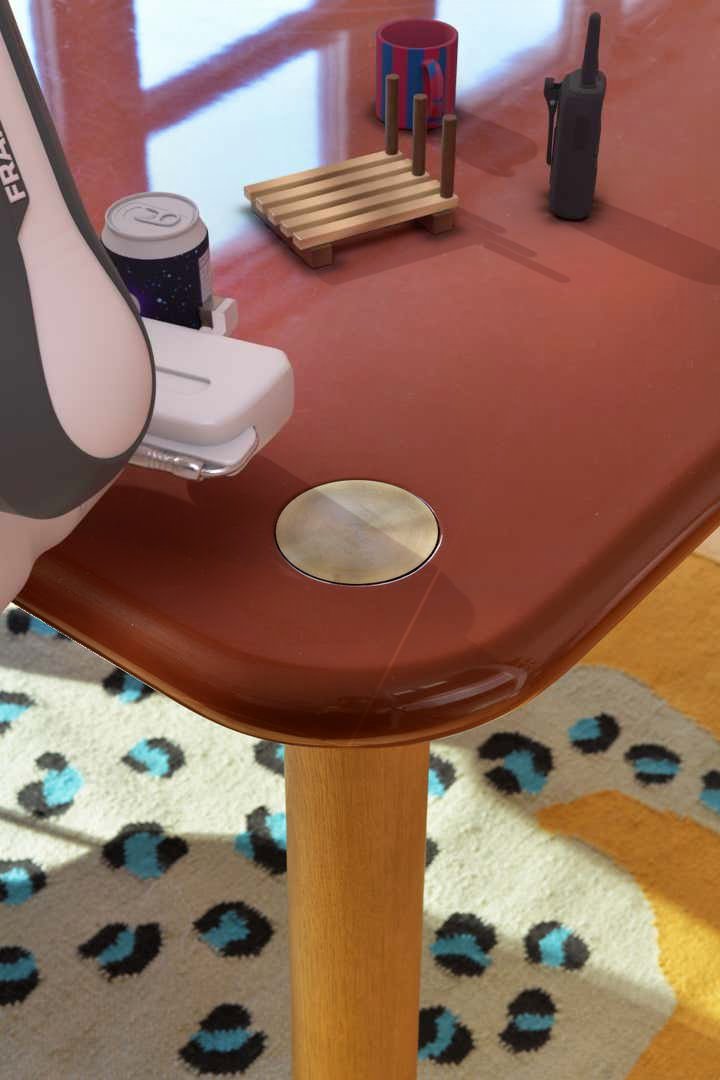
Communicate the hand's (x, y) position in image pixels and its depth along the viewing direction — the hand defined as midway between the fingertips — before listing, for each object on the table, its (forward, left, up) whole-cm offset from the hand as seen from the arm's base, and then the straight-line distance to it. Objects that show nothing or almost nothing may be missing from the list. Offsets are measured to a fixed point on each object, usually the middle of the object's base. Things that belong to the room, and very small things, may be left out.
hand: (168, 294), depth 75 cm
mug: (+34, +30, -10) cm, 47 cm away
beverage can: (-1, -1, -7) cm, 7 cm away
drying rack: (+21, +18, -10) cm, 30 cm away
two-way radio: (+36, +12, -10) cm, 40 cm away
